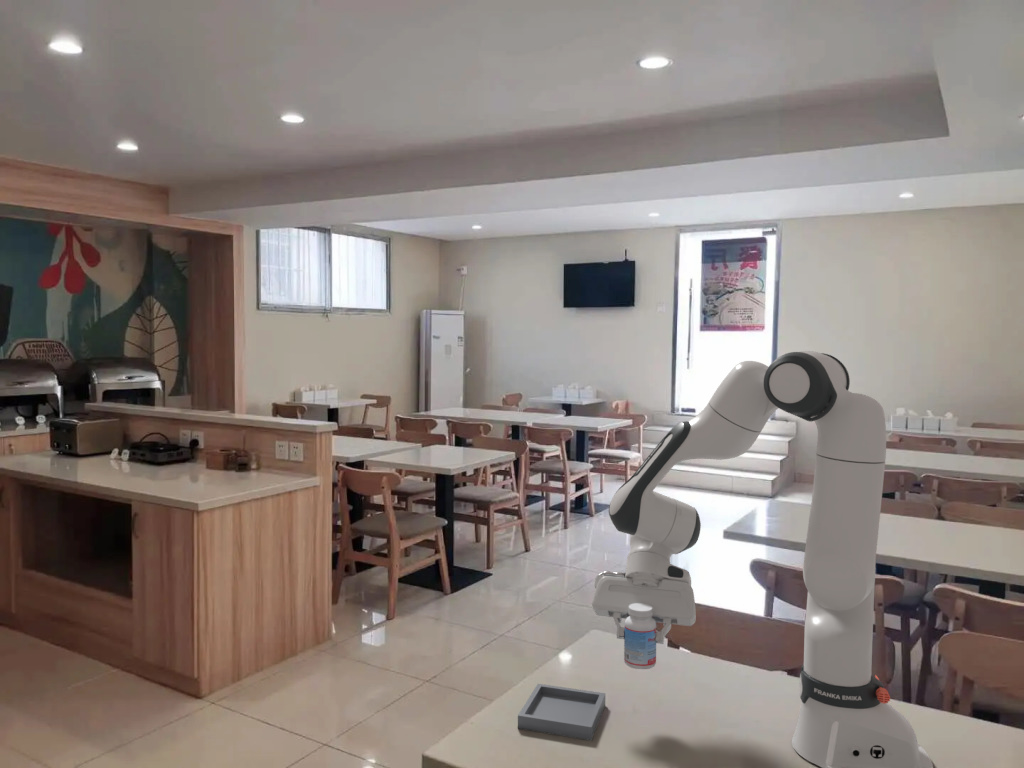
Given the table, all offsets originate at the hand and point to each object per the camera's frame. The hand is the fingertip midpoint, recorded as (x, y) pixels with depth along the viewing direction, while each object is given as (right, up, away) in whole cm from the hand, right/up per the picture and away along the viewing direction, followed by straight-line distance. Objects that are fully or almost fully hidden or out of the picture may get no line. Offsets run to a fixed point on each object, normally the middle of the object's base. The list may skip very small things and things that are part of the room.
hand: (639, 640), depth 146 cm
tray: (-15, -15, +1) cm, 21 cm away
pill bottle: (0, -5, +1) cm, 5 cm away
